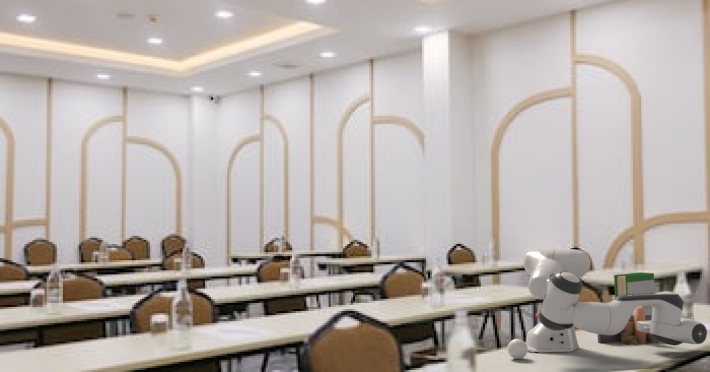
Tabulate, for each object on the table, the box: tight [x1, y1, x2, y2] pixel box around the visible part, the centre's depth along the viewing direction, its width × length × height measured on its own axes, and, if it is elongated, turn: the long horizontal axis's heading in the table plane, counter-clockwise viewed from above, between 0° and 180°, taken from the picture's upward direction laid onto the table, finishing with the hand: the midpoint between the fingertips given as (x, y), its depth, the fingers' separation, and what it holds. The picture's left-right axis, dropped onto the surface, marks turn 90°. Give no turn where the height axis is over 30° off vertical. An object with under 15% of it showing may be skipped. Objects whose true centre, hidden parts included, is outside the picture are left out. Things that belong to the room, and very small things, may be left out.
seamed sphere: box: [502, 338, 529, 360], centre depth 270 cm, size 10×7×7 cm
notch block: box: [620, 320, 659, 346], centre depth 294 cm, size 12×7×8 cm, turn 99°
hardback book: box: [613, 271, 656, 316], centre depth 333 cm, size 18×7×24 cm, turn 118°
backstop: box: [597, 314, 652, 344], centre depth 298 cm, size 30×2×10 cm, turn 99°
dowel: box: [634, 307, 647, 344], centre depth 293 cm, size 4×4×14 cm
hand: (653, 322), depth 284 cm, fingers open, 8 cm apart
